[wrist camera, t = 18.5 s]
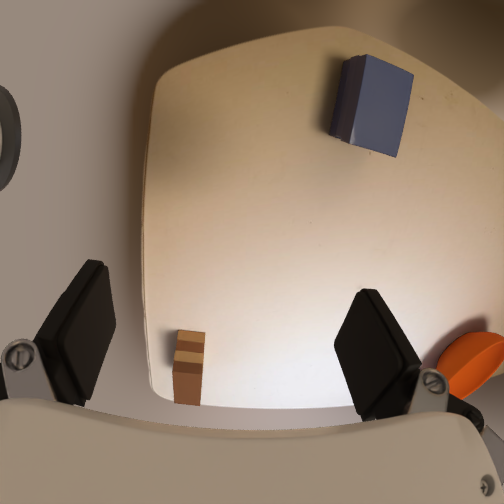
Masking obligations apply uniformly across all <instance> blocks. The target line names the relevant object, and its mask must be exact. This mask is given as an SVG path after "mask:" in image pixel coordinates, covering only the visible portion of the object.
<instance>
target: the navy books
mask: <svg viewBox="0 0 504 504" xmlns="http://www.w3.org/2000/svg"><path fill="white" fill-rule="evenodd" d="M357 57H359V55H358V56H354V57H351V59H349V60H345V61H344V62H343V67H342V73H341V78H340V83H339V88H338V93H337V98H336V103H335V108H334V113H333V117H332V122H331V127H330V131H329V135H330V136H332V137H335V138H339V139H341V135H342V131H343V126H344V122H345V117H346V112H347V108H348V103H349V98H350V93H351V88H352V83H353V77H354V72H355V66H356V61H357Z"/></svg>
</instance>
